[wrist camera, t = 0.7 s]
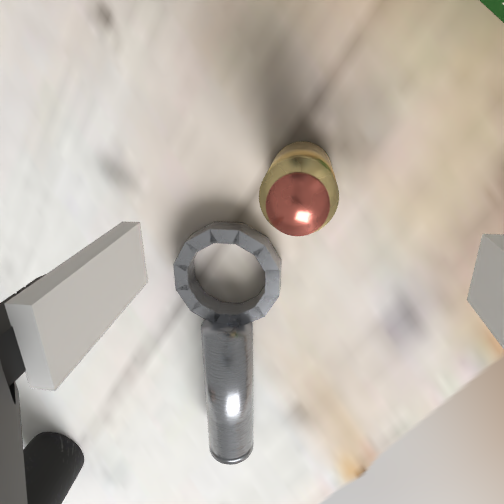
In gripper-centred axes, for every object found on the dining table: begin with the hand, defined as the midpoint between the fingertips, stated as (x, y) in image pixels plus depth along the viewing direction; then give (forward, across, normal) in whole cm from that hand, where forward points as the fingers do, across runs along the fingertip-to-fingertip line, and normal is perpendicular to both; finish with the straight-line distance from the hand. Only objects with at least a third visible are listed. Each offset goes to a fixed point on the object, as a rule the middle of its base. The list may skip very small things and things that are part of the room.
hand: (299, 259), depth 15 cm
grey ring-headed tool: (+17, -6, -16) cm, 24 cm away
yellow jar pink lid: (+17, 0, 0) cm, 17 cm away
